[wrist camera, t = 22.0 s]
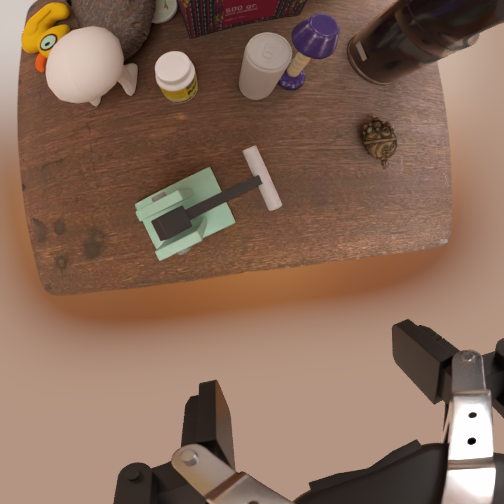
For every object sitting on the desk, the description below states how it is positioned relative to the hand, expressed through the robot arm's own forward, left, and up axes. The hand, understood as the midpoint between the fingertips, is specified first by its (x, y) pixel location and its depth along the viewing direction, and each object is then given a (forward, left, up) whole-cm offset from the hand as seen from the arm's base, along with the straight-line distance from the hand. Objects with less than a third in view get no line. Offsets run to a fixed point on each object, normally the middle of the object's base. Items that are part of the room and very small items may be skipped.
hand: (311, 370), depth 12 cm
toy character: (+13, -26, -30) cm, 42 cm away
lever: (+3, -7, -22) cm, 23 cm away
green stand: (+7, -6, -30) cm, 31 cm away
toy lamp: (-11, -21, -30) cm, 38 cm away
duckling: (+25, -44, -27) cm, 58 cm away
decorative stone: (+9, -39, -27) cm, 49 cm away
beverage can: (-6, -21, -30) cm, 37 cm away
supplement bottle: (+4, -23, -30) cm, 38 cm away
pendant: (-21, -9, -30) cm, 38 cm away
